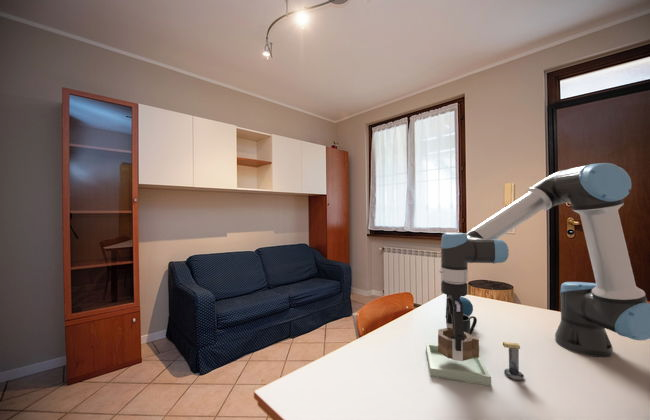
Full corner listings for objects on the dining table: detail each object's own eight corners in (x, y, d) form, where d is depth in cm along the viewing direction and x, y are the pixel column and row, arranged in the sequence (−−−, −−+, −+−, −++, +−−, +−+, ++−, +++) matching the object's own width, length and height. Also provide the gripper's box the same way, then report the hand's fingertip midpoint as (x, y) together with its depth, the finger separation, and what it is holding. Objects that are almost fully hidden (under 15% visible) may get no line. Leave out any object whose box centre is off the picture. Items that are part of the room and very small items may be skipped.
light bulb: (473, 323, 119) (473, 296, 119) (472, 331, 112) (472, 301, 112) (452, 319, 123) (452, 293, 124) (450, 326, 116) (450, 298, 116)
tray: (476, 356, 92) (476, 349, 92) (491, 385, 77) (491, 376, 77) (425, 350, 96) (425, 343, 96) (430, 376, 81) (430, 368, 81)
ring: (477, 349, 88) (476, 332, 88) (480, 364, 79) (480, 345, 79) (438, 342, 93) (438, 326, 93) (437, 356, 84) (437, 338, 84)
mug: (484, 344, 100) (484, 318, 100) (455, 348, 98) (455, 321, 98) (468, 335, 108) (468, 311, 108) (441, 337, 106) (441, 313, 106)
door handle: (519, 372, 83) (519, 341, 83) (526, 382, 78) (526, 348, 78) (501, 370, 84) (500, 339, 84) (506, 379, 80) (506, 346, 80)
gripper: (437, 272, 99) (437, 334, 98) (447, 290, 77) (447, 369, 77) (459, 274, 97) (459, 337, 96) (476, 292, 75) (476, 373, 75)
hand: (454, 351), depth 86 cm, fingers closed on ring, 10 cm apart
